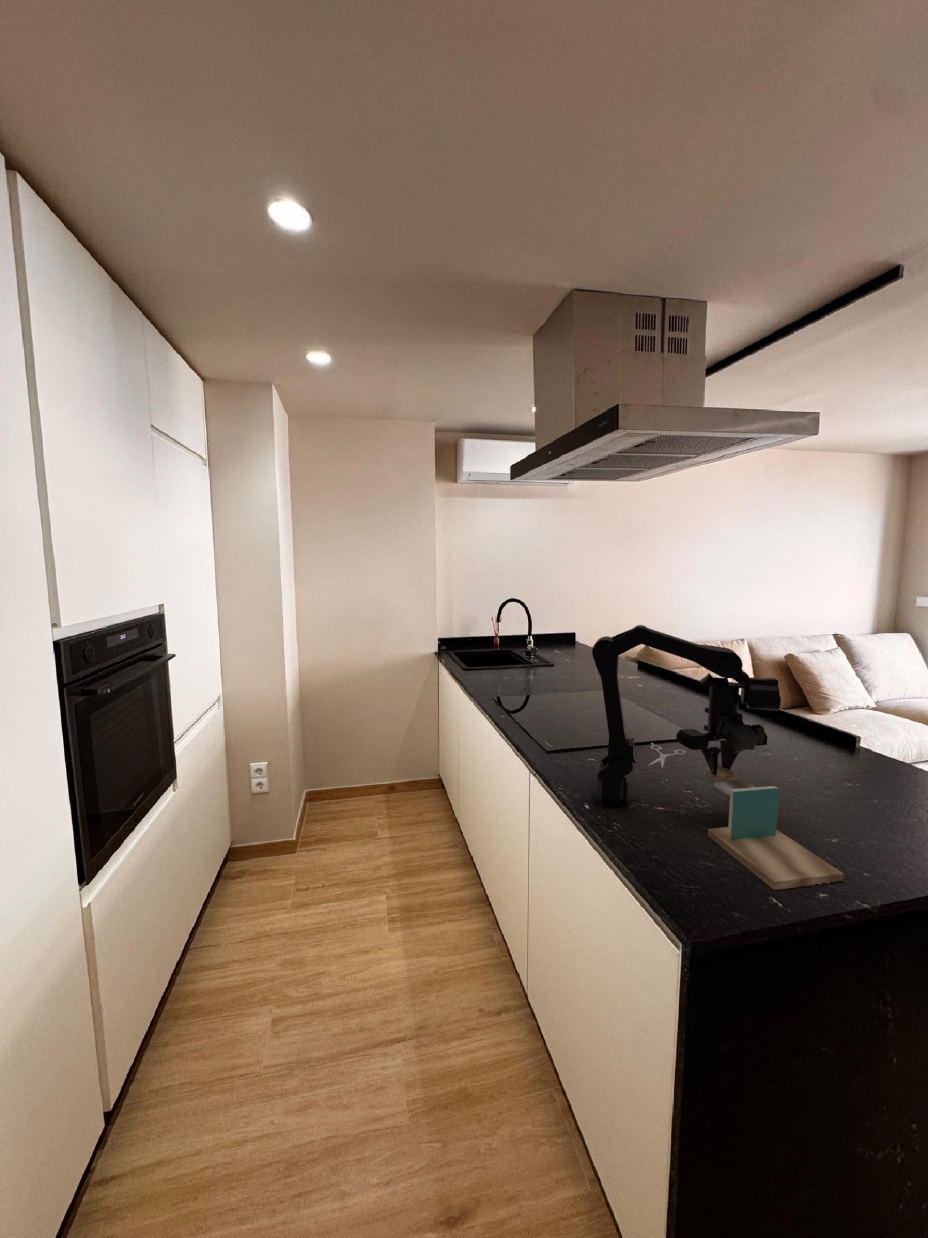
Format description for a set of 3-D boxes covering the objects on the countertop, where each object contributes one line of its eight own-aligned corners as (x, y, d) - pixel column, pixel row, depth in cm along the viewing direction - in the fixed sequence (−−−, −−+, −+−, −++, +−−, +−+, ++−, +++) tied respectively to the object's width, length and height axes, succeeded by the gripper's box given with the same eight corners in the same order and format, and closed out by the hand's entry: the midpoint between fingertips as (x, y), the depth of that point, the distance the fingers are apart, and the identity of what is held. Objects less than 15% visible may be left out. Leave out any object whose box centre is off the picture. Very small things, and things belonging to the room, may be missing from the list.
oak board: (773, 890, 88) (774, 882, 88) (707, 835, 106) (708, 829, 106) (842, 881, 90) (843, 873, 90) (766, 830, 108) (767, 823, 108)
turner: (730, 796, 104) (731, 784, 104) (696, 774, 115) (697, 764, 114) (760, 793, 105) (761, 782, 105) (724, 772, 116) (724, 762, 116)
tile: (731, 839, 101) (734, 792, 100) (727, 836, 102) (730, 789, 101) (775, 835, 103) (778, 788, 102) (771, 832, 104) (774, 786, 103)
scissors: (687, 749, 155) (674, 770, 138) (687, 751, 155) (674, 773, 138) (651, 742, 161) (635, 762, 144) (651, 745, 161) (635, 765, 144)
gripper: (709, 719, 101) (705, 794, 103) (790, 714, 104) (785, 786, 106) (676, 704, 112) (673, 772, 114) (750, 700, 115) (746, 766, 117)
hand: (719, 774), depth 112 cm, fingers closed on turner, 2 cm apart
